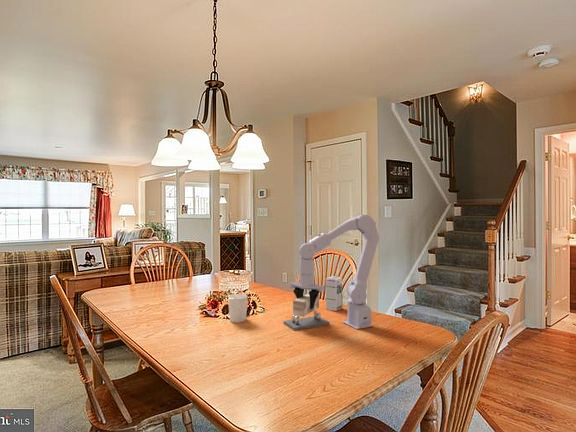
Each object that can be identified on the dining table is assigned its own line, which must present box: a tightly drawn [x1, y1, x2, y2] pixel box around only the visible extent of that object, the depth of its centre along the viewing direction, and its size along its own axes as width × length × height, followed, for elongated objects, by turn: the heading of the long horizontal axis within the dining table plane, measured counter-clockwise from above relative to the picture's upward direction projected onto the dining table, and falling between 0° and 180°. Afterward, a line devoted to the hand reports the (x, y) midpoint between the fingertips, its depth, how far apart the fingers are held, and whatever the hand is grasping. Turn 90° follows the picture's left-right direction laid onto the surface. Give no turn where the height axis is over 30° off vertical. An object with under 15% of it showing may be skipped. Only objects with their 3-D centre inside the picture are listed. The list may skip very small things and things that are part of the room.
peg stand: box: [283, 310, 330, 331], centre depth 146 cm, size 16×9×4 cm, turn 117°
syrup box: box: [325, 275, 343, 312], centre depth 168 cm, size 6×6×14 cm
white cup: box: [227, 293, 248, 323], centre depth 151 cm, size 8×8×10 cm
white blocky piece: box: [292, 293, 320, 318], centre depth 146 cm, size 14×4×6 cm, turn 150°
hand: (306, 307), depth 146 cm, fingers closed on white blocky piece, 4 cm apart
